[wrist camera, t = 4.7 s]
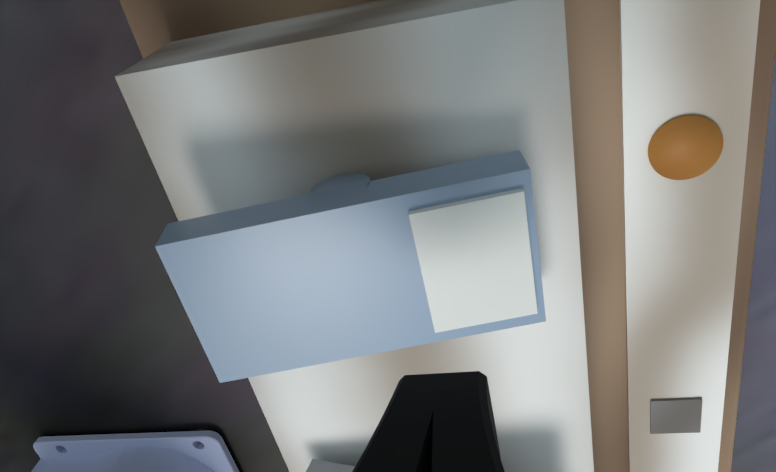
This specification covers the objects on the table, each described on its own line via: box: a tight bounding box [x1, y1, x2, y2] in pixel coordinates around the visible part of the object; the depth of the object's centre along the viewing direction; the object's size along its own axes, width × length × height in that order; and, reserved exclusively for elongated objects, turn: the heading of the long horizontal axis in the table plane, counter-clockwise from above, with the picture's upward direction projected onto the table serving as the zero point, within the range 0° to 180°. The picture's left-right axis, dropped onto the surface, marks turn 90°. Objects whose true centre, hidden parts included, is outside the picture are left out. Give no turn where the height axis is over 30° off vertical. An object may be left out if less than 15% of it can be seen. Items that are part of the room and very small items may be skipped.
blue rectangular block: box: [155, 150, 546, 383], centre depth 14 cm, size 8×4×2 cm, turn 102°
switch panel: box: [115, 0, 776, 472], centre depth 19 cm, size 16×24×4 cm, turn 12°
